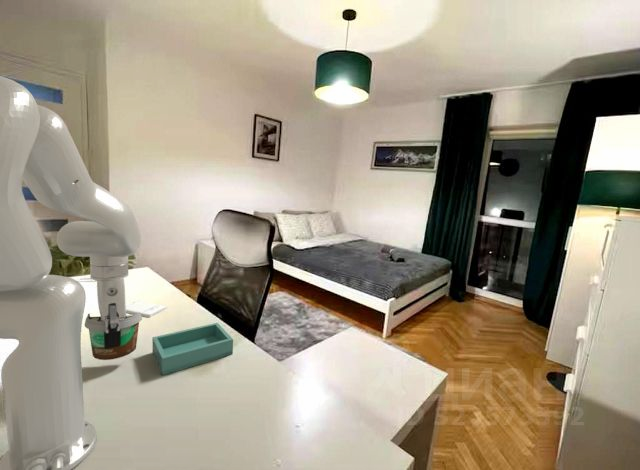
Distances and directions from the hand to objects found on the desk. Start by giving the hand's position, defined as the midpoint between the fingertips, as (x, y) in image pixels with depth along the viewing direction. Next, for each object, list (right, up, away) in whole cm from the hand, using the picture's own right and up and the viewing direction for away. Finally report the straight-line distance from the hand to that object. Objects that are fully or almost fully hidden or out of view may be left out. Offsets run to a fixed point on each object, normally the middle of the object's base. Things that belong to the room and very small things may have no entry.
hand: (111, 339), depth 75 cm
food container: (0, -4, 0) cm, 4 cm away
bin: (+16, -7, +10) cm, 20 cm away
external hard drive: (-12, -2, +34) cm, 36 cm away
